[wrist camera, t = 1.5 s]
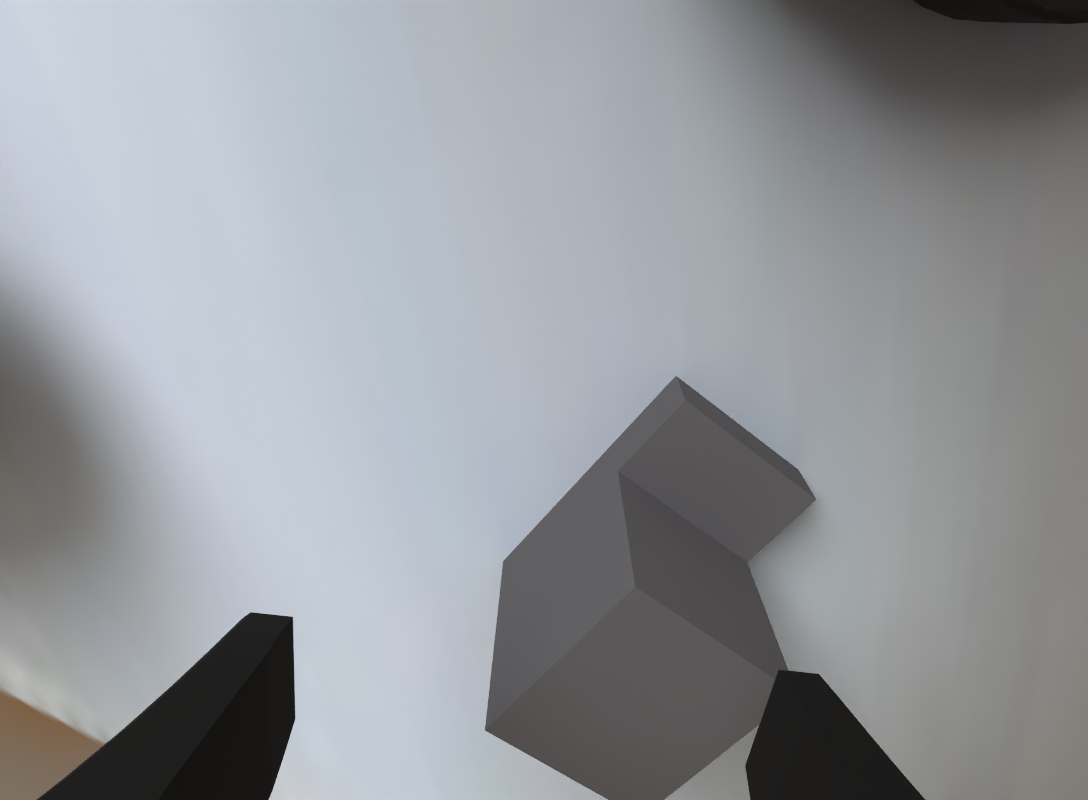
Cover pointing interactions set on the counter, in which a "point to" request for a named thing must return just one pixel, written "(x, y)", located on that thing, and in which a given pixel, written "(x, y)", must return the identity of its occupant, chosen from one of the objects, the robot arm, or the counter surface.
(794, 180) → the counter surface
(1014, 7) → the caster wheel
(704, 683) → the stepped grey block
